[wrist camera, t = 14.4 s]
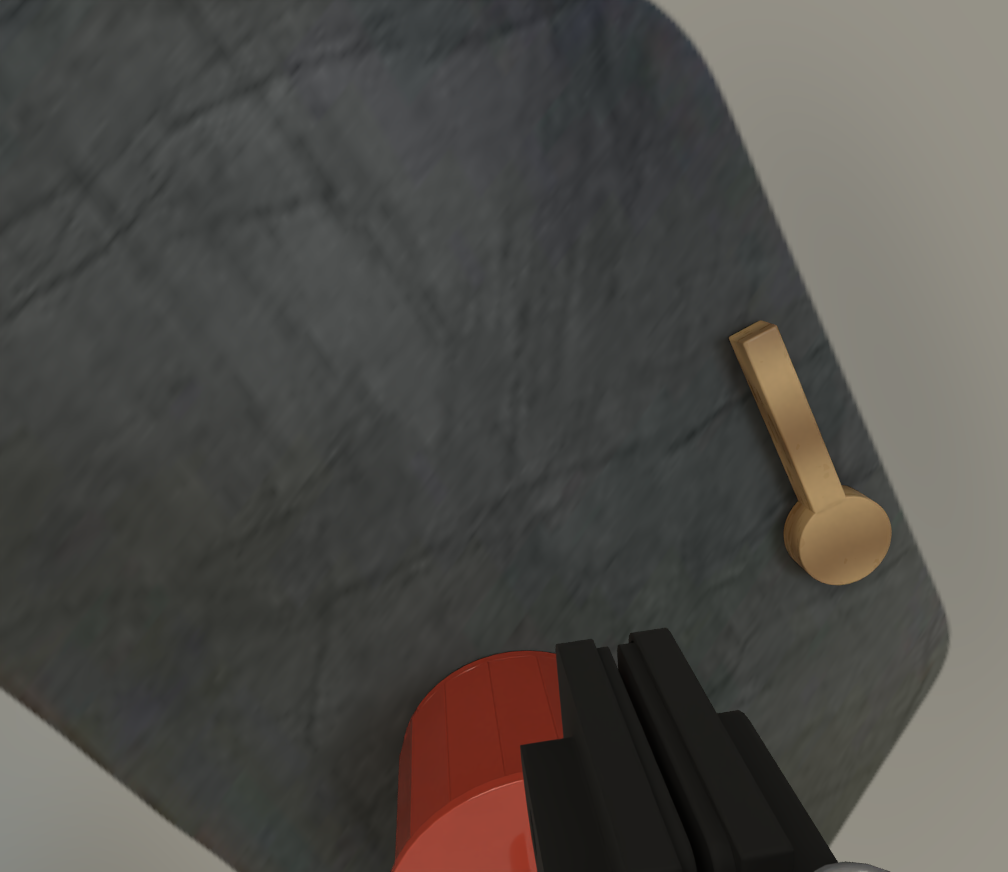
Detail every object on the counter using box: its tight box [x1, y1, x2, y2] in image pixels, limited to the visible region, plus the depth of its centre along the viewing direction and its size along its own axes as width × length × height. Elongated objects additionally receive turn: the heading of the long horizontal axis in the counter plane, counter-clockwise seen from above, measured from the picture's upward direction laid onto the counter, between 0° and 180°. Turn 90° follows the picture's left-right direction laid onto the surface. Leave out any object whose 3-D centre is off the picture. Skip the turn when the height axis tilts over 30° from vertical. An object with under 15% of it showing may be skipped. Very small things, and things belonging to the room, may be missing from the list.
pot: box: [395, 651, 563, 861], centre depth 33 cm, size 12×12×8 cm
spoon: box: [729, 321, 891, 585], centre depth 34 cm, size 13×4×2 cm, turn 28°
